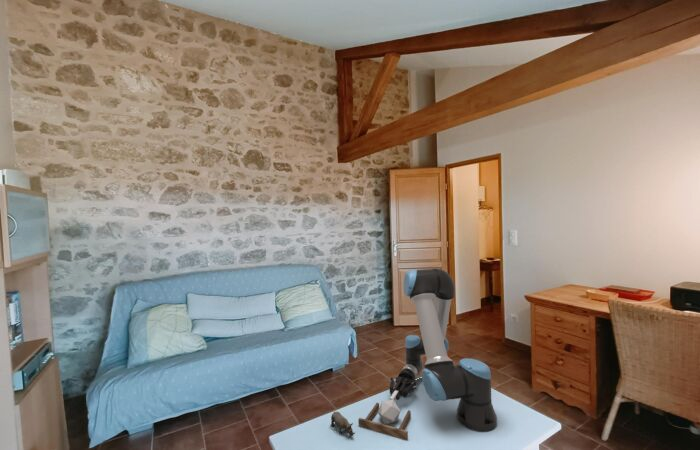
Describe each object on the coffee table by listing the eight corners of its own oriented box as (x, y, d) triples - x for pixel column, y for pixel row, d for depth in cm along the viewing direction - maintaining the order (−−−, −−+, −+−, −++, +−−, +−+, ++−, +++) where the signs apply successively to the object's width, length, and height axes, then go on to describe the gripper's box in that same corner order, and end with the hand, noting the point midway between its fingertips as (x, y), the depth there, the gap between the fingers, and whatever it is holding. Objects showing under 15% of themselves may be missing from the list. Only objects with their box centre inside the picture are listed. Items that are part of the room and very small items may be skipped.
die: (397, 431, 124) (406, 405, 128) (378, 421, 124) (387, 396, 128) (390, 426, 132) (398, 402, 136) (372, 417, 131) (380, 393, 135)
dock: (416, 419, 130) (416, 412, 130) (407, 440, 118) (406, 432, 118) (371, 408, 139) (371, 401, 139) (358, 426, 127) (358, 419, 127)
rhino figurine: (350, 443, 118) (349, 427, 117) (328, 425, 128) (328, 411, 128) (358, 438, 120) (358, 422, 120) (337, 421, 131) (336, 407, 131)
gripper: (421, 386, 151) (407, 414, 130) (395, 380, 157) (377, 406, 136) (421, 370, 151) (406, 396, 130) (394, 365, 157) (376, 389, 136)
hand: (391, 401), depth 133 cm, fingers closed
